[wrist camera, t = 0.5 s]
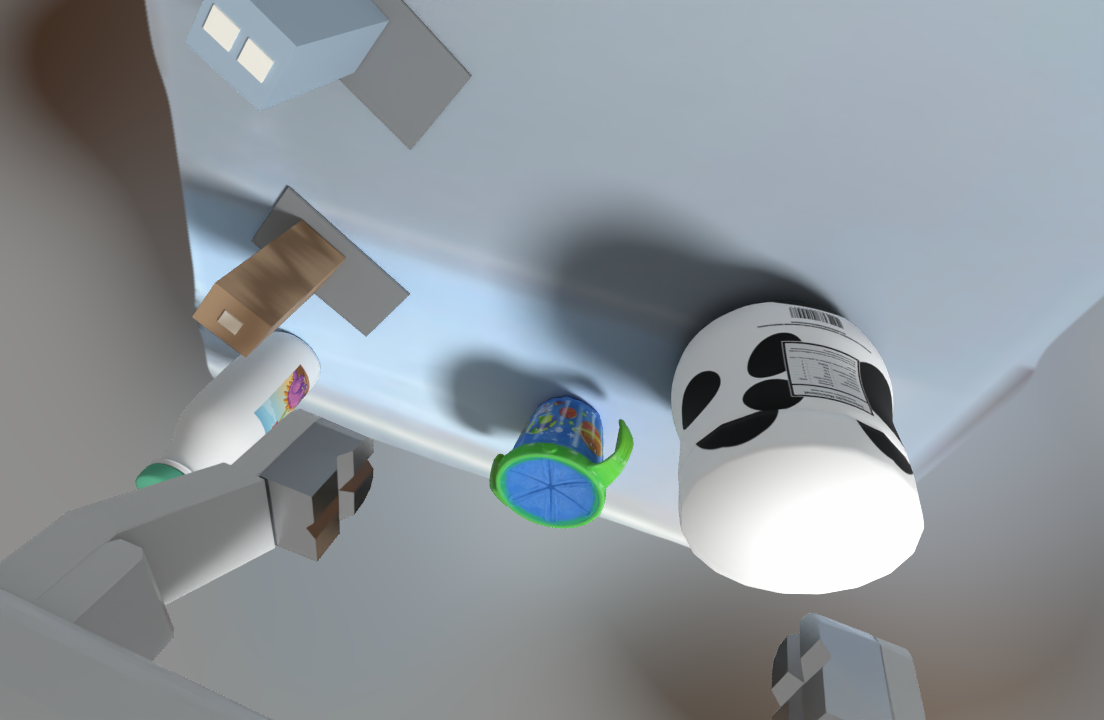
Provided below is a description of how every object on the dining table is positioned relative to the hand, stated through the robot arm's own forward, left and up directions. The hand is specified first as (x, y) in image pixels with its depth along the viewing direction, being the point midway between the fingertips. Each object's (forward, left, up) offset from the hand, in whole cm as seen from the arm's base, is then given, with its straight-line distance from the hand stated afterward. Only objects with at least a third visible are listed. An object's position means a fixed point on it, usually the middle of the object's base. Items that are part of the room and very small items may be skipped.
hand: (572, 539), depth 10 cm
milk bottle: (+32, -37, -38) cm, 62 cm away
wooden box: (+18, -31, -38) cm, 52 cm away
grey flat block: (-1, -22, -38) cm, 44 cm away
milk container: (+23, +13, -38) cm, 47 cm away
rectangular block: (-2, -24, -38) cm, 45 cm away
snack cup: (+34, -5, -38) cm, 51 cm away
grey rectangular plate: (+19, -29, -38) cm, 52 cm away
